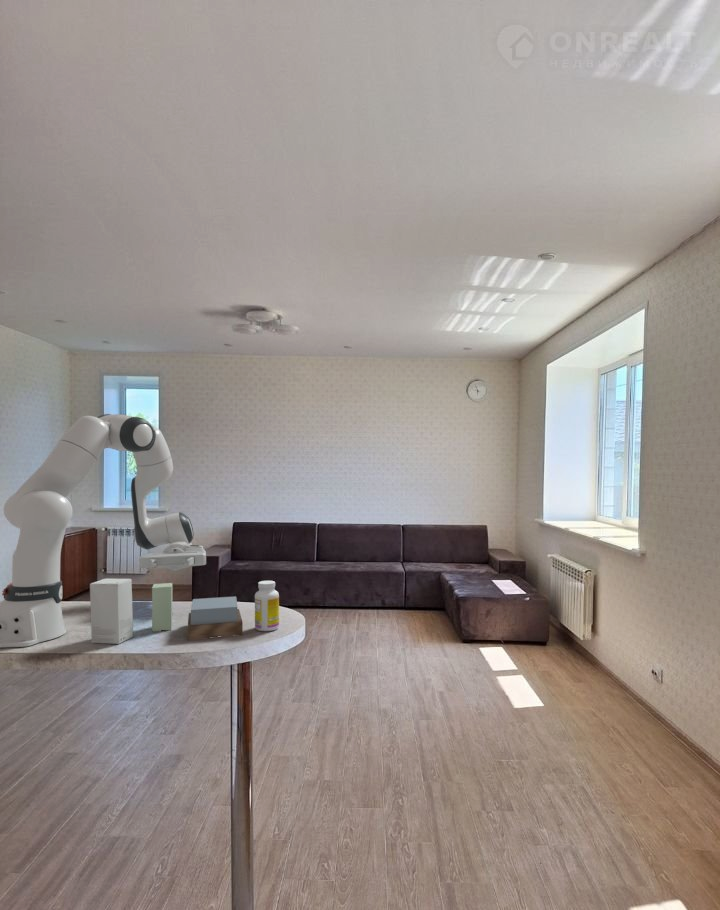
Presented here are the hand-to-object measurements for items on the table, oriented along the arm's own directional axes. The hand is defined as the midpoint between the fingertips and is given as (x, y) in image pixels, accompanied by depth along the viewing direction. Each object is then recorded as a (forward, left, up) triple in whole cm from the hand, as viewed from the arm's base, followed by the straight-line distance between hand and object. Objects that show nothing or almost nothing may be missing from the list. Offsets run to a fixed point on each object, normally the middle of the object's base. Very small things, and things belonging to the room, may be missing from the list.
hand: (170, 564), depth 164 cm
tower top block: (+13, -20, -12) cm, 27 cm away
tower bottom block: (+13, -20, -16) cm, 29 cm away
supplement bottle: (+27, -23, -16) cm, 39 cm away
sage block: (-1, -14, -15) cm, 21 cm away
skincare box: (-13, -21, -16) cm, 30 cm away
